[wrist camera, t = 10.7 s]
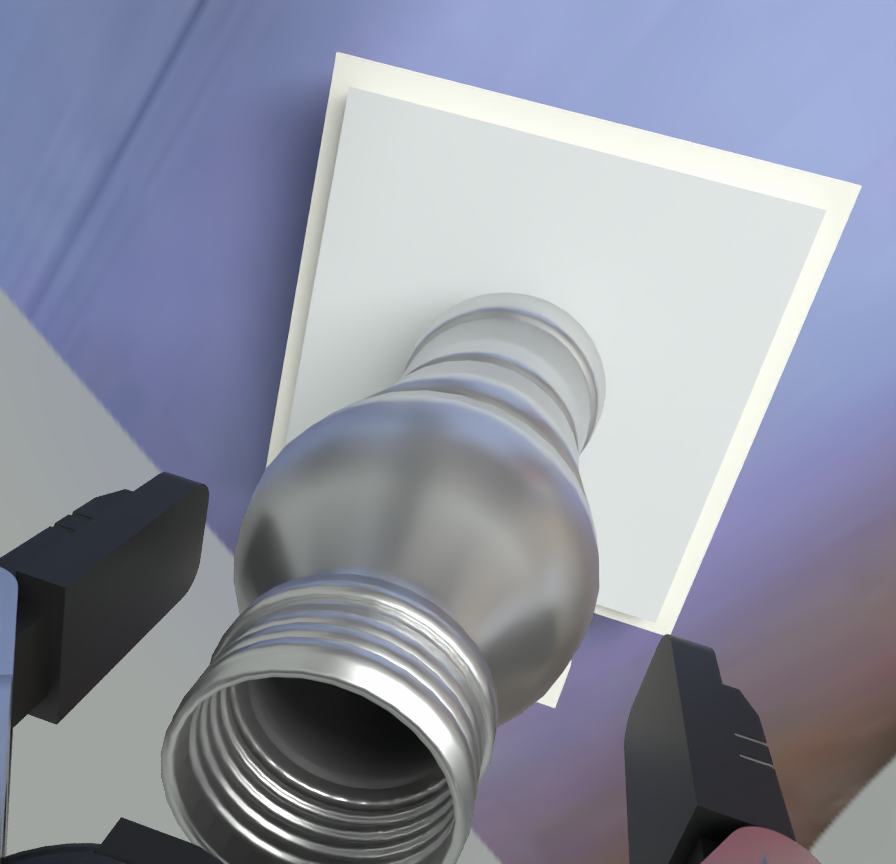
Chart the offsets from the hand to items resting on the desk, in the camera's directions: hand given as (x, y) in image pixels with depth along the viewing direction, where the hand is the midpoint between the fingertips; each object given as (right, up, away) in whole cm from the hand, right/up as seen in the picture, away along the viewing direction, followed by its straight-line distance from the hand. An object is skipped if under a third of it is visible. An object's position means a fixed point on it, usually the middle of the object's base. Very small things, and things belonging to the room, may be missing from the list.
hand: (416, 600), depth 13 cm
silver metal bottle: (+3, +5, +15) cm, 16 cm away
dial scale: (+3, +5, +20) cm, 21 cm away
